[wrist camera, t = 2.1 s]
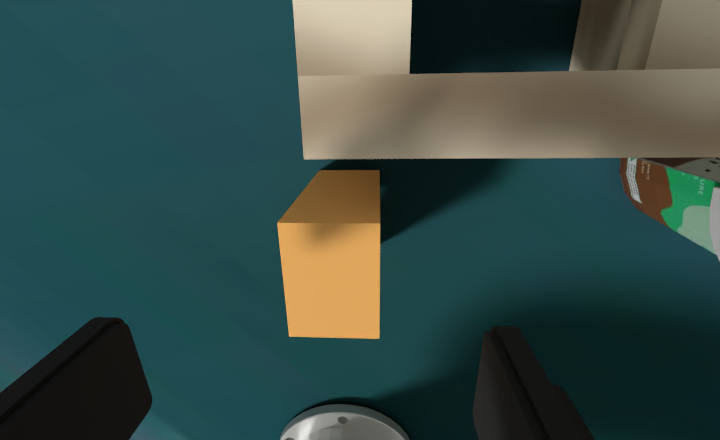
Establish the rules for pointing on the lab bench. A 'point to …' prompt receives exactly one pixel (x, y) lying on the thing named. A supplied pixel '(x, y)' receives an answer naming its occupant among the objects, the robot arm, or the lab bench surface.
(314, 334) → the tall wooden brick
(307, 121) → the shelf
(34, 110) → the lab bench surface
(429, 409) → the lab bench surface
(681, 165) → the food container
